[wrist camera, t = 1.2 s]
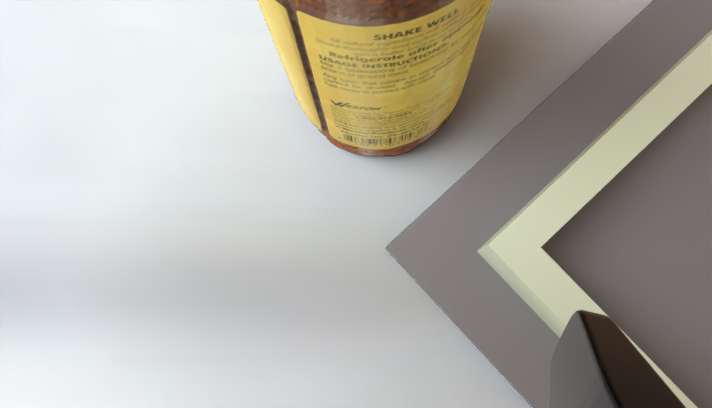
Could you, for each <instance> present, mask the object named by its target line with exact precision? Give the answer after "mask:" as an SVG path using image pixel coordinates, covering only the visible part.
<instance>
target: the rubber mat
mask: <svg viewBox="0 0 712 408" xmlns="http://www.w3.org/2000/svg"><path fill="white" fill-rule="evenodd" d="M711 30H712V0H654V1H653V2H651V3H650V4H649V5H648V6H647V7H646V8H645V9H644V10H643V11H642V12H641V13H639V14H638V15H637V16H636V17H635V18H634V19H633V20H632V21H631V22H630V23H629V24H628V25H626V26H625V27H624V28H623V29H622V30H621V31H620V32H619V33H618V34H617V35H616V36H615V37H613V38H612V39H611V40H610V41H609V42H608V43H607V44H606V45H605V46H604V47H603V48H601V49H600V50H599V51H598V52H597V53H596V54H595V55H594V56H593V57H592V58H591V59H590V60H588V61H587V62H586V63H585V64H584V65H583V66H582V67H581V68H580V69H579V70H578V71H577V72H575V73H574V74H573V75H572V76H571V77H570V78H569V79H568V80H567V81H566V82H565V83H563V84H562V85H561V86H560V87H559V88H558V89H557V90H556V91H555V92H554V93H553V94H552V95H550V96H549V97H548V98H547V99H546V100H545V101H544V102H543V103H542V104H541V105H540V106H539V107H537V108H536V109H535V110H534V111H533V112H532V113H531V114H530V115H529V116H528V117H527V118H525V119H524V120H523V121H522V122H521V123H520V124H519V125H518V126H517V127H516V128H515V129H514V130H512V131H511V132H510V133H509V134H508V135H507V136H506V137H505V138H504V139H503V140H502V141H500V142H499V143H498V144H497V145H496V146H495V147H494V148H493V149H492V150H491V151H490V152H489V153H487V154H486V155H485V156H484V157H483V158H482V159H481V160H480V161H479V162H478V163H477V164H476V165H474V166H473V167H472V168H471V169H470V170H469V171H468V172H467V173H466V174H465V175H464V176H462V177H461V178H460V179H459V180H458V181H457V182H456V183H455V184H454V185H453V186H452V187H451V188H449V189H448V190H447V191H446V192H445V193H444V194H443V195H442V196H441V197H440V198H439V199H438V200H436V201H435V202H434V203H433V204H432V205H431V206H430V207H429V208H428V209H427V210H426V211H424V212H423V213H422V214H421V215H420V216H419V217H418V218H417V219H416V220H415V221H414V222H413V223H411V224H410V225H409V226H408V227H407V228H406V229H405V230H404V231H403V232H402V233H401V234H400V235H398V236H397V237H396V238H395V239H394V240H393V241H392V242H391V243H390V244H389V245H388V246H386V248H385V249H386V250H387V251H388V252H389V253H390V254H391V255H392V256H393V257H394V258H395V259H396V261H397V262H398V263H399V264H400V265H401V266H402V267H403V268H404V269H405V270H406V271H407V272H408V274H409V275H410V276H411V277H412V278H413V279H414V280H415V281H416V282H417V283H418V284H419V285H420V286H421V288H422V289H423V290H424V291H425V292H426V293H427V294H428V295H429V296H430V297H431V298H432V299H433V300H434V302H435V303H436V304H437V305H438V306H439V307H440V308H441V309H442V310H443V311H444V312H445V313H446V314H447V316H448V317H449V318H450V319H451V320H452V321H453V322H454V323H455V324H456V325H457V326H458V327H459V328H460V330H461V331H462V332H463V333H464V334H465V335H466V336H467V337H468V338H469V339H470V340H471V341H472V342H473V344H474V345H475V346H476V347H477V348H478V349H479V350H480V351H481V352H482V353H483V354H484V355H485V356H486V358H487V359H488V360H489V361H490V362H491V363H492V364H493V365H494V366H495V367H496V368H497V369H498V370H499V372H500V373H501V374H502V375H503V376H504V377H505V378H506V379H507V380H508V381H509V382H510V383H511V384H512V386H513V387H514V388H515V389H516V390H517V391H518V392H519V393H520V394H521V395H522V396H523V397H524V398H525V400H526V401H527V402H528V403H529V404H530V405H531V406H532V407H533V408H549V374H550V361H551V357H552V353H553V351H554V348H555V347H556V345H557V343H558V341H559V339H560V338H559V337H558V336H557V335H556V334H555V332H554V331H553V330H552V329H551V328H550V327H549V326H548V325H547V324H546V323H545V322H544V321H543V320H542V319H541V318H540V317H539V316H538V315H537V314H536V313H535V312H534V311H533V310H532V308H531V307H530V306H529V305H528V304H527V303H526V302H525V301H524V300H523V299H522V298H521V297H520V296H519V295H518V294H517V293H516V292H515V291H514V290H513V289H512V288H511V287H510V285H509V284H508V283H507V282H506V281H505V280H504V279H503V278H502V277H501V276H500V275H499V274H498V273H497V272H496V271H495V270H494V269H493V268H492V267H491V266H490V265H489V264H488V262H487V261H486V260H485V259H484V258H483V257H482V256H481V255H480V254H479V253H478V252H477V250H478V249H480V248H481V247H482V246H483V245H484V244H485V243H486V242H487V241H488V240H489V239H490V238H491V237H492V236H493V235H494V234H495V233H496V232H498V231H499V230H500V229H501V228H502V227H503V226H504V225H505V224H506V223H507V222H508V221H509V220H510V219H511V218H512V217H513V216H514V215H516V214H517V213H518V212H519V211H520V210H521V209H522V208H523V207H524V206H525V205H526V204H527V203H528V202H529V201H530V200H531V199H533V198H534V197H535V196H536V195H537V194H538V193H539V192H540V191H541V190H542V189H543V188H544V187H545V186H546V185H547V184H548V183H549V182H551V181H552V180H553V179H554V178H555V177H556V176H557V175H558V174H559V173H560V172H561V171H562V170H563V169H564V168H565V167H566V166H568V165H569V164H570V163H571V162H572V161H573V160H574V159H575V158H576V157H577V156H578V155H579V154H580V153H581V152H582V151H583V150H584V149H586V148H587V147H588V146H589V145H590V144H591V143H592V142H593V141H594V140H595V139H596V138H597V137H598V136H599V135H600V134H601V133H602V132H604V131H605V130H606V129H607V128H608V127H609V126H610V125H611V124H612V123H613V122H614V121H615V120H616V119H617V118H618V117H619V116H621V115H622V114H623V113H624V112H625V111H626V110H627V109H628V108H629V107H630V106H631V105H632V104H633V103H634V102H635V101H636V100H637V99H639V98H640V97H641V96H642V95H643V94H644V93H645V92H646V91H647V90H648V89H649V88H650V87H651V86H652V85H653V84H654V83H656V82H657V81H658V80H659V79H660V78H661V77H662V76H663V75H664V74H665V73H666V72H667V71H668V70H669V69H670V68H671V67H672V66H674V65H675V64H676V63H677V62H678V61H679V60H680V59H681V58H682V57H683V56H684V55H685V54H686V53H687V52H688V51H689V50H690V49H692V48H693V47H694V46H695V45H696V44H697V43H698V42H699V41H700V40H701V39H702V38H703V37H704V36H705V35H706V34H707V33H709V32H710V31H711ZM541 248H542V249H543V250H544V251H545V252H546V253H547V254H548V255H549V256H550V257H551V258H552V259H553V260H554V261H555V262H556V263H557V264H558V265H559V266H560V267H561V268H562V270H563V271H564V272H565V273H566V274H567V275H568V276H569V277H570V278H571V279H572V280H573V281H574V282H575V283H576V284H577V285H578V286H579V287H580V288H581V289H582V290H583V291H584V292H585V293H586V294H587V295H588V296H589V297H590V298H591V299H592V300H593V301H594V302H595V303H596V304H597V305H598V306H599V307H600V308H601V309H602V310H603V311H604V312H605V313H606V314H607V315H608V316H609V318H611V319H612V320H613V321H614V322H615V323H616V325H617V326H618V327H619V328H620V329H621V330H622V331H623V332H624V333H625V334H626V335H627V336H628V337H629V338H630V339H631V340H632V341H633V342H634V343H635V344H636V345H637V346H638V347H639V348H640V349H641V350H642V351H643V352H644V353H645V354H646V355H647V356H648V357H649V358H650V359H651V360H652V361H653V362H654V363H655V364H656V366H657V367H658V368H659V369H660V370H661V371H662V372H663V373H664V374H665V375H666V376H667V377H668V378H669V379H670V380H671V381H672V382H673V383H674V384H675V385H676V386H677V387H678V388H679V389H680V390H681V391H682V392H683V393H684V394H685V395H686V396H687V397H688V398H689V399H690V400H691V401H692V402H693V403H694V404H695V405H696V406H697V407H698V408H712V84H711V85H710V86H709V87H708V88H707V89H706V90H704V91H703V92H702V93H701V94H700V95H699V96H698V97H697V98H696V99H695V100H694V101H693V102H692V103H691V104H690V105H689V106H688V107H687V108H686V109H685V110H684V111H683V112H681V113H680V114H679V115H678V116H677V117H676V118H675V119H674V120H673V121H672V122H671V123H670V124H669V125H668V126H667V127H666V128H665V129H664V130H663V131H662V132H661V133H660V134H659V135H657V136H656V137H655V138H654V139H653V140H652V141H651V142H650V143H649V144H648V145H647V146H646V147H645V148H644V149H643V150H642V151H641V152H640V153H639V154H638V155H637V156H636V157H635V158H633V159H632V160H631V161H630V162H629V163H628V164H627V165H626V166H625V167H624V168H623V169H622V170H621V171H620V172H619V173H618V174H617V175H616V176H615V177H614V178H613V179H612V180H610V181H609V182H608V183H607V184H606V185H605V186H604V187H603V188H602V189H601V190H600V191H599V192H598V193H597V194H596V195H595V196H594V197H593V198H592V199H591V200H590V201H589V202H588V203H586V204H585V205H584V206H583V207H582V208H581V209H580V210H579V211H578V212H577V213H576V214H575V215H574V216H573V217H572V218H571V219H570V220H569V221H568V222H567V223H566V224H565V225H564V226H562V227H561V228H560V229H559V230H558V231H557V232H556V233H555V234H554V235H553V236H552V237H551V238H550V239H549V240H548V241H547V242H546V243H545V244H544V245H543V246H542V247H541Z"/></svg>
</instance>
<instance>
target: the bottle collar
mask: <svg viewBox="0 0 712 408" xmlns="http://www.w3.org/2000/svg"><path fill="white" fill-rule="evenodd" d="M711 84H712V30H711V31H710V32H709V33H707V34H706V35H705V36H704V37H703V38H702V39H701V40H700V41H699V42H698V43H697V44H696V45H695V46H694V47H693V48H692V49H690V50H689V51H688V52H687V53H686V54H685V55H684V56H683V57H682V58H681V59H680V60H679V61H678V62H677V63H676V64H675V65H674V66H672V67H671V68H670V69H669V70H668V71H667V72H666V73H665V74H664V75H663V76H662V77H661V78H660V79H659V80H658V81H657V82H656V83H654V84H653V85H652V86H651V87H650V88H649V89H648V90H647V91H646V92H645V93H644V94H643V95H642V96H641V97H640V98H639V99H637V100H636V101H635V102H634V103H633V104H632V105H631V106H630V107H629V108H628V109H627V110H626V111H625V112H624V113H623V114H622V115H621V116H619V117H618V118H617V119H616V120H615V121H614V122H613V123H612V124H611V125H610V126H609V127H608V128H607V129H606V130H605V131H604V132H602V133H601V134H600V135H599V136H598V137H597V138H596V139H595V140H594V141H593V142H592V143H591V144H590V145H589V146H588V147H587V148H586V149H584V150H583V151H582V152H581V153H580V154H579V155H578V156H577V157H576V158H575V159H574V160H573V161H572V162H571V163H570V164H569V165H568V166H566V167H565V168H564V169H563V170H562V171H561V172H560V173H559V174H558V175H557V176H556V177H555V178H554V179H553V180H552V181H551V182H549V183H548V184H547V185H546V186H545V187H544V188H543V189H542V190H541V191H540V192H539V193H538V194H537V195H536V196H535V197H534V198H533V199H531V200H530V201H529V202H528V203H527V204H526V205H525V206H524V207H523V208H522V209H521V210H520V211H519V212H518V213H517V214H516V215H514V216H513V217H512V218H511V219H510V220H509V221H508V222H507V223H506V224H505V225H504V226H503V227H502V228H501V229H500V230H499V231H498V232H496V233H495V234H494V235H493V236H492V237H491V238H490V239H489V240H488V241H487V242H486V243H485V244H484V245H483V246H482V247H481V248H480V249H478V250H477V252H478V253H479V254H480V255H481V256H482V257H483V258H484V259H485V260H486V261H487V262H488V264H489V265H490V266H491V267H492V268H493V269H494V270H495V271H496V272H497V273H498V274H499V275H500V276H501V277H502V278H503V279H504V280H505V281H506V282H507V283H508V284H509V285H510V287H511V288H512V289H513V290H514V291H515V292H516V293H517V294H518V295H519V296H520V297H521V298H522V299H523V300H524V301H525V302H526V303H527V304H528V305H529V306H530V307H531V308H532V310H533V311H534V312H535V313H536V314H537V315H538V316H539V317H540V318H541V319H542V320H543V321H544V322H545V323H546V324H547V325H548V326H549V327H550V328H551V329H552V330H553V331H554V332H555V334H556V335H557V336H558V337H559V338H560V337H561V335H562V333H563V331H564V329H565V327H566V325H567V323H568V322H569V320H570V318H571V316H572V315H573V314H574V313H575V312H576V311H578V310H585V311H589V312H594V313H598V314H602V315H606V316H608V315H607V314H606V313H605V312H604V311H603V310H602V309H601V308H600V307H599V306H598V305H597V304H596V303H595V302H594V301H593V300H592V299H591V298H590V297H589V296H588V295H587V294H586V293H585V292H584V291H583V290H582V289H581V288H580V287H579V286H578V285H577V284H576V283H575V282H574V281H573V280H572V279H571V278H570V277H569V276H568V275H567V274H566V273H565V272H564V271H563V270H562V268H561V267H560V266H559V265H558V264H557V263H556V262H555V261H554V260H553V259H552V258H551V257H550V256H549V255H548V254H547V253H546V252H545V251H544V250H543V249H542V248H541V247H542V246H543V245H544V244H545V243H546V242H547V241H548V240H549V239H550V238H551V237H552V236H553V235H554V234H555V233H556V232H557V231H558V230H559V229H560V228H561V227H562V226H564V225H565V224H566V223H567V222H568V221H569V220H570V219H571V218H572V217H573V216H574V215H575V214H576V213H577V212H578V211H579V210H580V209H581V208H582V207H583V206H584V205H585V204H586V203H588V202H589V201H590V200H591V199H592V198H593V197H594V196H595V195H596V194H597V193H598V192H599V191H600V190H601V189H602V188H603V187H604V186H605V185H606V184H607V183H608V182H609V181H610V180H612V179H613V178H614V177H615V176H616V175H617V174H618V173H619V172H620V171H621V170H622V169H623V168H624V167H625V166H626V165H627V164H628V163H629V162H630V161H631V160H632V159H633V158H635V157H636V156H637V155H638V154H639V153H640V152H641V151H642V150H643V149H644V148H645V147H646V146H647V145H648V144H649V143H650V142H651V141H652V140H653V139H654V138H655V137H656V136H657V135H659V134H660V133H661V132H662V131H663V130H664V129H665V128H666V127H667V126H668V125H669V124H670V123H671V122H672V121H673V120H674V119H675V118H676V117H677V116H678V115H679V114H680V113H681V112H683V111H684V110H685V109H686V108H687V107H688V106H689V105H690V104H691V103H692V102H693V101H694V100H695V99H696V98H697V97H698V96H699V95H700V94H701V93H702V92H703V91H704V90H706V89H707V88H708V87H709V86H710V85H711ZM608 317H609V316H608ZM621 331H622V330H621ZM622 332H623V331H622ZM623 333H624V332H623ZM624 334H625V333H624ZM625 335H626V334H625ZM626 337H627V338H628V339H629V340H630V341H631V342H632V344H633V345H634V346H635V347H636V348H637V350H638V351H639V352H640V353H641V354H642V356H643V357H644V358H645V359H646V360H647V362H648V363H649V364H650V365H651V366H652V367H653V369H654V370H655V371H656V372H657V373H658V375H659V376H660V377H661V378H662V379H663V381H664V382H665V383H666V384H667V385H668V386H669V388H670V389H671V390H672V391H673V392H674V394H675V395H676V396H677V397H678V398H679V400H680V401H681V402H682V403H683V404H684V405H685V407H686V408H698V407H697V406H696V405H695V404H694V403H693V402H692V401H691V400H690V399H689V398H688V397H687V396H686V395H685V394H684V393H683V392H682V391H681V390H680V389H679V388H678V387H677V386H676V385H675V384H674V383H673V382H672V381H671V380H670V379H669V378H668V377H667V376H666V375H665V374H664V373H663V372H662V371H661V370H660V369H659V368H658V367H657V366H656V364H655V363H654V362H653V361H652V360H651V359H650V358H649V357H648V356H647V355H646V354H645V353H644V352H643V351H642V350H641V349H640V348H639V347H638V346H637V345H636V344H635V343H634V342H633V341H632V340H631V339H630V338H629V337H628V336H627V335H626Z"/></svg>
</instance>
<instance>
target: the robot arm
mask: <svg viewBox="0 0 712 408" xmlns="http://www.w3.org/2000/svg"><path fill="white" fill-rule="evenodd" d="M549 408H686V407H685V405H684V404H683V403H682V402H681V401H680V400H679V398H678V397H677V396H676V395H675V394H674V392H673V391H672V390H671V389H670V388H669V386H668V385H667V384H666V383H665V382H664V381H663V379H662V378H661V377H660V376H659V375H658V373H657V372H656V371H655V370H654V369H653V367H652V366H651V365H650V364H649V363H648V362H647V360H646V359H645V358H644V357H643V356H642V354H641V353H640V352H639V351H638V350H637V348H636V347H635V346H634V345H633V344H632V342H631V341H630V340H629V339H628V338H627V337H626V335H625V334H624V333H623V332H622V331H621V329H620V328H619V327H618V326H617V325H616V323H615V322H614V321H613V320H612V319H611V318H609V317H608V316H606V315H602V314H598V313H594V312H589V311H585V310H578V311H576V312H575V313H574V314H573V315H572V316H571V318H570V320H569V322H568V323H567V325H566V327H565V329H564V331H563V333H562V335H561V337H560V339H559V341H558V343H557V345H556V347H555V348H554V351H553V353H552V357H551V361H550V374H549Z"/></svg>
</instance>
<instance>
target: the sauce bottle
mask: <svg viewBox="0 0 712 408" xmlns="http://www.w3.org/2000/svg"><path fill="white" fill-rule="evenodd" d="M257 1H258V3H259V6H260V8H261V11H262V13H263V16H264V18H265V21H266V23H267V26H268V28H269V31H270V33H271V36H272V38H273V41H274V43H275V46H276V48H277V51H278V53H279V56H280V58H281V61H282V63H283V66H284V68H285V71H286V73H287V76H288V78H289V80H290V83H291V85H292V88H293V90H294V93H295V95H296V98H297V100H298V102H299V104H300V106H301V108H302V110H303V111H304V113H305V114H306V116H307V117H308V118H309V120H310V121H311V122H312V123H313V124H314V125H315V126H316V127H317V128H318V129H319V131H320V132H321V133H322V134H324V135H325V136H326V137H327V139H328V140H329V141H330V142H331V143H332V144H334V145H335V146H337V147H339V148H341V149H344V150H347V151H349V152H352V153H354V154H360V155H364V156H371V155H375V156H381V155H383V156H388V155H398V154H401V153H406V152H408V151H410V150H411V149H412V148H415V147H417V146H418V145H419V144H421V143H422V142H424V141H425V140H427V139H428V138H430V137H431V135H433V134H434V133H435V132H437V131H438V130H439V128H440V127H441V126H442V125H443V124H444V123H445V122H446V121H447V119H448V118H449V116H450V114H451V112H452V110H453V109H454V107H455V106H456V104H457V102H458V100H459V98H460V96H461V93H462V90H463V88H464V85H465V82H466V79H467V76H468V73H469V70H470V67H471V64H472V60H473V57H474V54H475V51H476V47H477V44H478V41H479V38H480V35H481V32H482V29H483V26H484V23H485V20H486V17H487V14H488V11H489V8H490V5H491V1H492V0H257Z"/></svg>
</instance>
